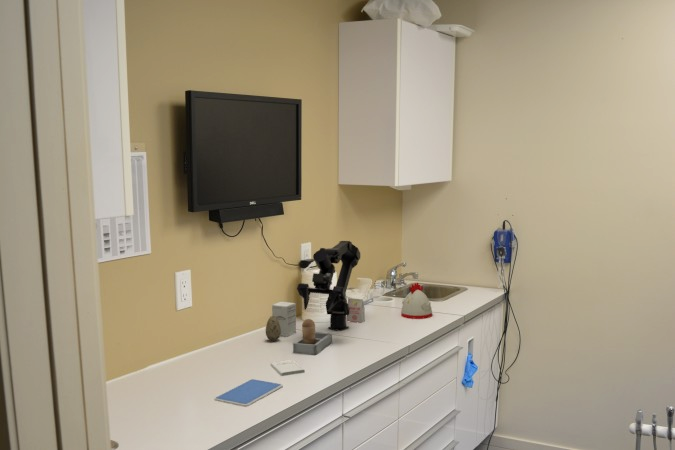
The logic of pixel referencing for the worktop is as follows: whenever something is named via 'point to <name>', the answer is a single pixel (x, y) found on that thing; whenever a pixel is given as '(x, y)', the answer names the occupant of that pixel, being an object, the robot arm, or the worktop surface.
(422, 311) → the grey beanie hat
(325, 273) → the robot arm
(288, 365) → the external hard drive
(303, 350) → the grey divided tray
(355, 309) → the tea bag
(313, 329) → the dome-topped wooden peg
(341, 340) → the worktop surface
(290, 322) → the supplement box
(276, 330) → the decorative egg
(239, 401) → the tablet computer
